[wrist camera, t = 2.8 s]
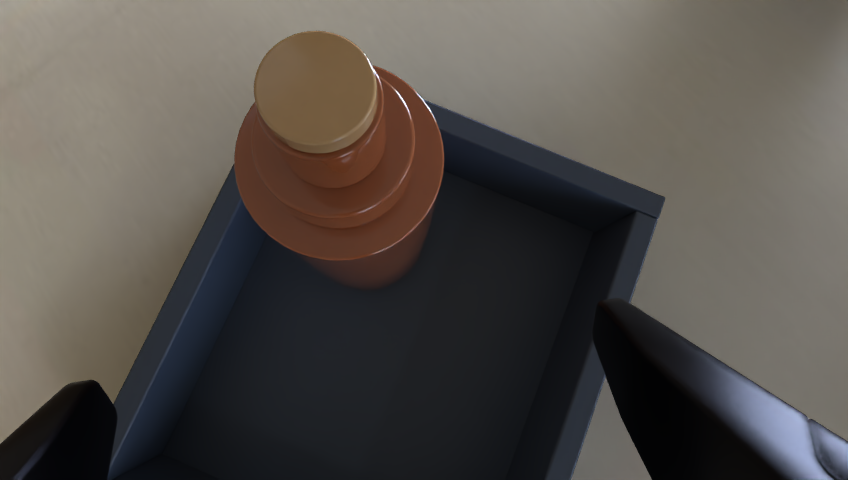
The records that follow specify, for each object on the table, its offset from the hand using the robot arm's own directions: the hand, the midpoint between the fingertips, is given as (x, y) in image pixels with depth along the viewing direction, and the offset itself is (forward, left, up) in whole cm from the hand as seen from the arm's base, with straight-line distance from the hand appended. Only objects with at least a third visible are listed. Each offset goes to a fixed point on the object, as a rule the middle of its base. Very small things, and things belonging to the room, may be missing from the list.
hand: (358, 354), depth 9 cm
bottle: (+4, +2, -11) cm, 12 cm away
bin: (0, 0, -11) cm, 11 cm away
